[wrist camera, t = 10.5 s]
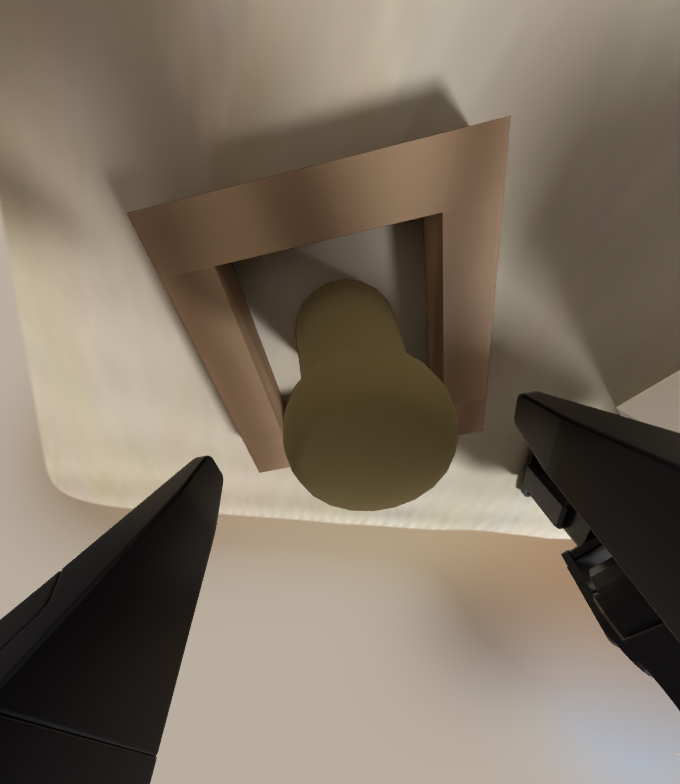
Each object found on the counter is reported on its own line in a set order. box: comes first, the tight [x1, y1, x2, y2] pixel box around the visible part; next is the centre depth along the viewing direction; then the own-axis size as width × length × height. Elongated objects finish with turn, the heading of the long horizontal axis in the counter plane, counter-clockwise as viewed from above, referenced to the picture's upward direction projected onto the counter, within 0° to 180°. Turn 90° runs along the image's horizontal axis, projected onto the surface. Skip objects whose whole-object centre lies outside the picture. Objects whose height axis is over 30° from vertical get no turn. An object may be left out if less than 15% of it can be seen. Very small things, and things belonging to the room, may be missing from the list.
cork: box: [283, 280, 458, 511], centre depth 12 cm, size 6×6×11 cm
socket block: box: [127, 116, 510, 473], centre depth 15 cm, size 15×15×2 cm
